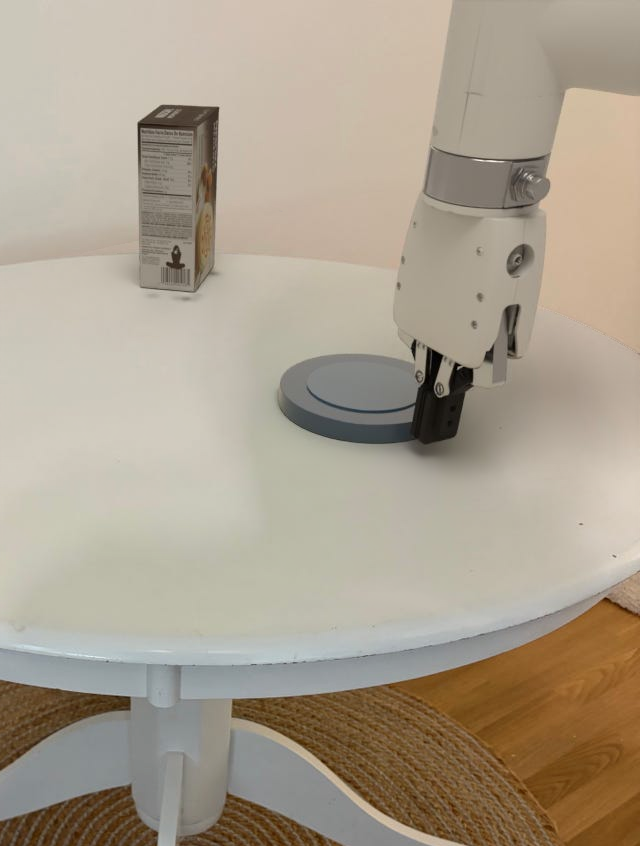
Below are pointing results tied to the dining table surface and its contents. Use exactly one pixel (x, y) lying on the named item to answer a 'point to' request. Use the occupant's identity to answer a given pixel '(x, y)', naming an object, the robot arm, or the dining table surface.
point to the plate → (351, 397)
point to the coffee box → (177, 195)
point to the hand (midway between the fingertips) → (432, 436)
